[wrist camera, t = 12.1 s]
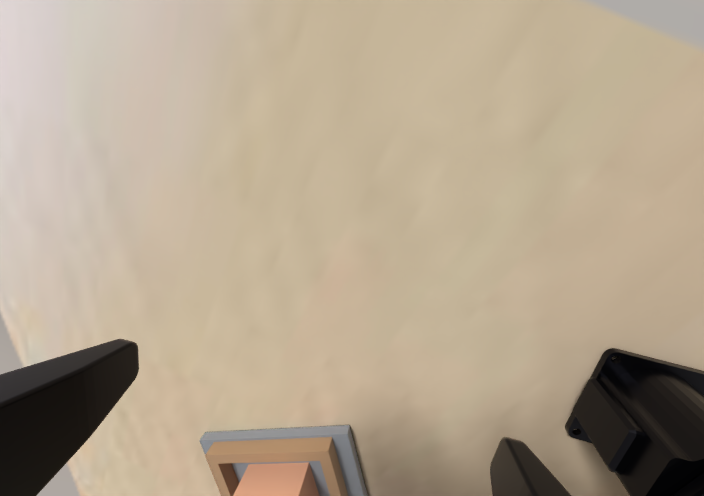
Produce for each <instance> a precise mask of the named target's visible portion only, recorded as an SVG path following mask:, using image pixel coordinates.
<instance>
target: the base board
mask: <svg viewBox="0 0 704 496" xmlns="http://www.w3.org/2000/svg"><path fill="white" fill-rule="evenodd" d="M199 441H200V443H201V445H202V448H203V450H204V453H205V457H206V459H207V462H208V464H209V467H210V469H211V471H212V474H213V476H214V479H215V481H216V484H217V486H218V489H219V491H220V494H221V496H233V495H234V493H235V491H236V489H237V487H238V485H239V483H240V481H241V479H242V477H243V475H244V473H245V471H246V469H247V467H248V465H249V464H274V463H306V462H309V464H310V467H311V470H312V474H313V477H314V480H315V483H316V486H317V490H318V493H319V496H368V495H367V491H366V487H365V484H364V480H363V476H362V472H361V468H360V464H359V460H358V457H357V453H356V449H355V445H354V441H353V437H352V433H351V429H350V426H349V425H340V426H320V427H300V428H280V429H260V430H240V431H220V432H205V433H204V435H203V436H202V438H201V439H200V440H199Z"/></svg>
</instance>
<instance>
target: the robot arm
mask: <svg viewBox="0 0 704 496" xmlns="http://www.w3.org/2000/svg"><path fill="white" fill-rule="evenodd" d="M614 356H617V357H616V358H615V359H612V358H613V357H614ZM138 370H139V360H138V346H137V344H136V343H135V342H132V341H128V340H124V339H117V340H114V341H110V342H107V343H104V344H100V345H97V346H94V347H90V348H87V349H84V350H80V351H77V352H74V353H70V354H67V355H64V356H60V357H57V358H54V359H50V360H47V361H44V362H41V363H37V364H34V365H31V366H27V367H24V368H21V369H17V370H14V371H11V372H7V373H4V374H1V375H0V496H36V495H37V494H38V493H39V492H40V491H41V490H42V489H43V488H44V487H45V486H46V485H47V483H48V482H49V481H50V480H51V479H52V478H53V477H54V476H55V475H56V474H57V472H58V471H59V470H60V469H61V468H62V467H63V466H64V465H65V464H66V463H67V462H68V461H69V459H70V458H71V457H72V456H73V455H74V454H75V453H76V452H77V451H78V450H79V449H80V447H81V446H82V445H83V444H84V443H85V442H86V441H87V440H88V438H89V437H90V436H91V435H92V434H93V432H94V431H95V430H96V429H97V428H98V426H99V425H100V424H101V422H102V421H103V420H104V419H105V417H106V416H107V415H108V413H109V412H110V411H111V410H112V408H113V407H114V406H115V404H116V403H117V402H118V401H119V399H120V398H121V397H122V395H123V394H124V393H125V392H126V390H127V389H128V388H129V386H130V385H131V384H132V382H133V381H134V380H135V378H136V376H137V374H138ZM565 428H566V430H567V432H568V434H569V435H570V436H571V437H573V438H576V439H579V440H583V441H587V442H590V443H593V445H594V446H595V448H596V450H597V451H598V453H599V454H600V456H601V458H602V459H603V461H604V462H605V464H606V466H607V467H608V469H609V470H610V471H611V472H615V473H616V474H617V476H618V478H619V479H620V481H621V482H622V484H623V485H624V487H625V489H626V490H627V492H628V493H629V495H630V496H704V371H701V370H697V369H693V368H689V367H685V366H681V365H678V364H674V363H670V362H666V361H662V360H658V359H654V358H650V357H646V356H643V355H639V354H635V353H631V352H627V351H623V350H619V349H614V348H612V349H608V350H606V351H605V352H604V353H603V355H602V357H601V359H600V361H599V363H598V365H597V367H596V369H595V370H594V372H593V374H592V376H591V378H590V380H589V381H588V382H587V384H586V386H585V388H584V390H583V392H582V394H581V396H580V398H579V399H578V401H577V403H576V405H575V407H574V409H573V412H572V414H571V416H570V418H569V420H568V422H567V423H566V426H565ZM574 429H576V430H574ZM490 476H491V485H492V494H493V496H571V495H570V494H569V493H568V491H567V490H566V489H565V488H564V487H563V486H562V485H561V484H560V482H559V481H558V480H557V479H556V478H555V477H554V476H553V475H552V474H551V472H550V471H549V470H548V469H547V468H546V467H545V466H544V465H543V464H542V462H541V461H540V460H539V459H538V458H537V457H536V456H535V455H534V453H533V452H532V451H531V450H530V449H529V448H528V447H527V446H526V445H525V444H524V443H523V442H522V441H520V440H516V439H512V438H508V437H504V438H502V439H501V441H500V443H499V445H498V448H497V450H496V453H495V455H494V457H493V460H492V462H491V467H490Z"/></svg>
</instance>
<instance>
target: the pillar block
mask: <svg viewBox="0 0 704 496" xmlns="http://www.w3.org/2000/svg"><path fill="white" fill-rule="evenodd" d="M233 496H319V493H318V490H317V486H316V483H315V480H314V477H313V474H312V470H311V467H310V464H309V462H306V463H274V464H249V465H248V467H247V469H246V471H245V473H244V475H243V477H242V479H241V481H240V483H239V485H238V487H237V489H236V491H235V493H234V495H233Z"/></svg>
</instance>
